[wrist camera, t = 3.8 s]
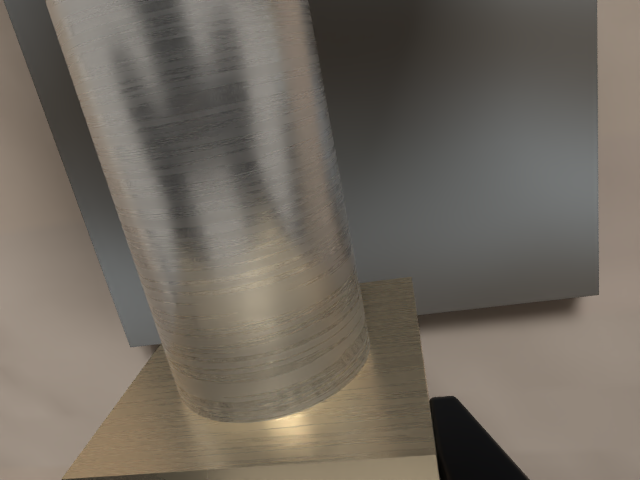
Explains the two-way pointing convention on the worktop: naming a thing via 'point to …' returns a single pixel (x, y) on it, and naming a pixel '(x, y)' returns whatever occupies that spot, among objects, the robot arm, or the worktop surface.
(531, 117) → the bearing block
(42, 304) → the worktop surface
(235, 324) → the shaft
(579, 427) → the worktop surface
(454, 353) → the worktop surface
